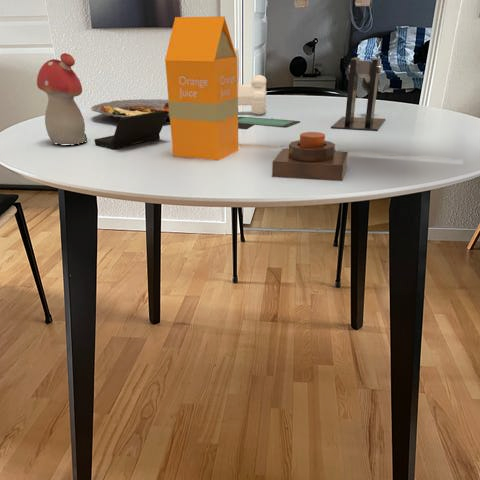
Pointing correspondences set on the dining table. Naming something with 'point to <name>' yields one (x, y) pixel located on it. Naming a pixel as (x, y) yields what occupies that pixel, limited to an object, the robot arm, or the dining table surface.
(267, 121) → the smartphone
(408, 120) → the dining table surface
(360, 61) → the switch lever
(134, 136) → the black angled stand
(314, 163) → the button block
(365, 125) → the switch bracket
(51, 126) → the decorative ornament
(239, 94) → the dog bone
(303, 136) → the button
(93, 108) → the food plate
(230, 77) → the orange juice
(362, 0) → the robot arm
